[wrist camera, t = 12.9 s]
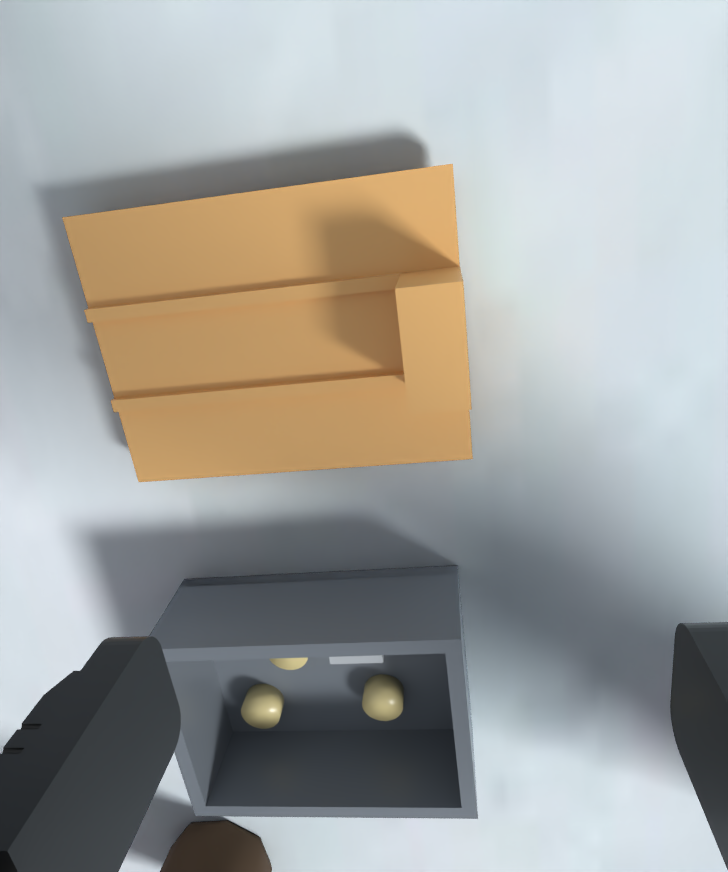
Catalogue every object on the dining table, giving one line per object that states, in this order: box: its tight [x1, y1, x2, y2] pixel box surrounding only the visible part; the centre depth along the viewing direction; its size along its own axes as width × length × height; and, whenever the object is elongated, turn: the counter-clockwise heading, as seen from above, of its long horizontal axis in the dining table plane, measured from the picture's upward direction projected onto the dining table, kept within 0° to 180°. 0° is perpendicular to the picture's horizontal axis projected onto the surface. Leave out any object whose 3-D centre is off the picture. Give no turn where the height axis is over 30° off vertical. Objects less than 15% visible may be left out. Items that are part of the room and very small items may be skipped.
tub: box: [150, 566, 478, 819], centre depth 36 cm, size 16×12×6 cm
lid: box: [62, 164, 473, 482], centre depth 28 cm, size 17×13×6 cm
